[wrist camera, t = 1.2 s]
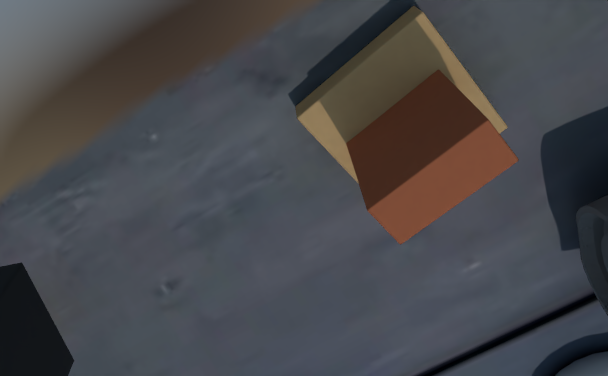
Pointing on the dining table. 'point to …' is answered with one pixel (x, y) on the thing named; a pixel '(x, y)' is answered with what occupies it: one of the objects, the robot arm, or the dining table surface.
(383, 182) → the open box
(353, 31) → the dining table surface
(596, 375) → the donut
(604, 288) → the bluetooth speaker
